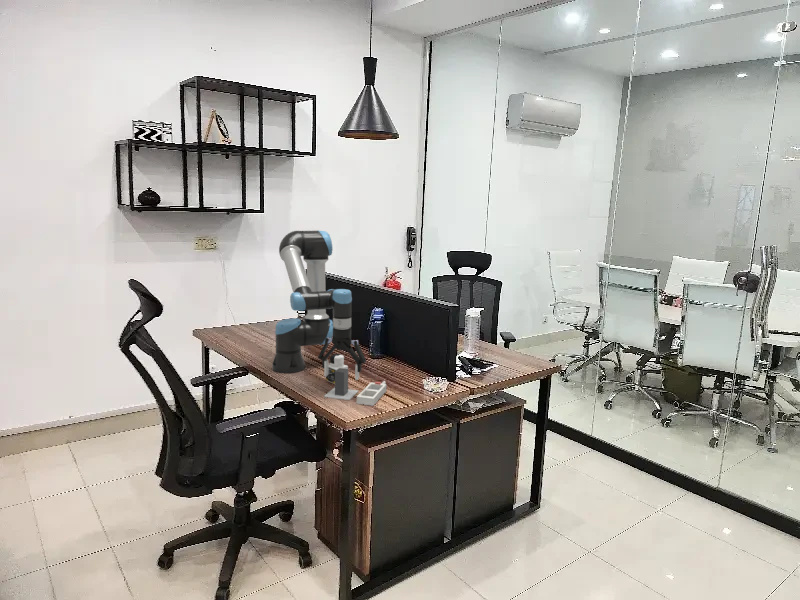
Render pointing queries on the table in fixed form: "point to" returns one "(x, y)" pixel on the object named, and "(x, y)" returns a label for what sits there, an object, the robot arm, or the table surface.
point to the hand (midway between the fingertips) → (341, 377)
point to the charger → (341, 381)
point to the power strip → (372, 393)
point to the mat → (345, 397)
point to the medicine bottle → (335, 366)
